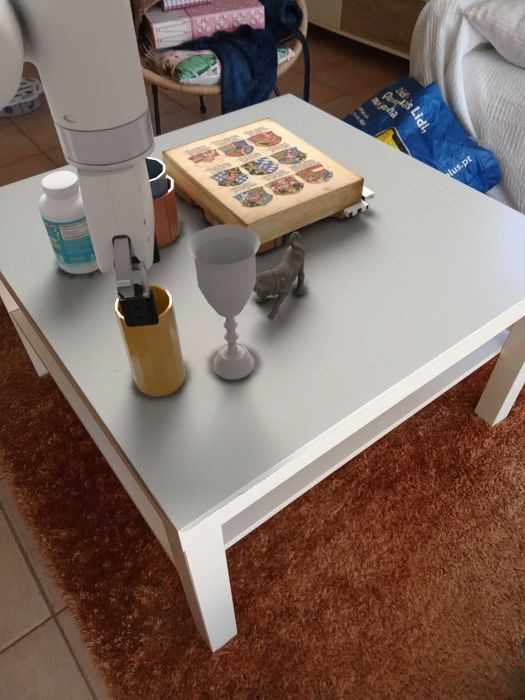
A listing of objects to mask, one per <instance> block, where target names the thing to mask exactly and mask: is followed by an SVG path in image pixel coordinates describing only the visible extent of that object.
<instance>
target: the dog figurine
mask: <svg viewBox="0 0 525 700" xmlns="http://www.w3.org/2000/svg"><path fill="white" fill-rule="evenodd" d="M302 241H303V238H302V235H301V233H300V232H299V231H293V232H292V233H291V234H290V236H289V245H290V246H288V247H287V248H286V249H285V251H284V253H283V257H282V259H281V261H280V262H279V264H278V265H277V266H276V267H274V268H272V269H269V270H266V271H262V272H258V273H257V272H256V283H255V286H254V288H253V292H254V293H255V294H256V296H257V297H256V298H255V301H256V302H257V303H262V302H263V301H264V300H266V298H267V297H269V296H273V297H276V296H277V297H276V300H275V303H274V304H273V306H272V307H271V310H270V312H269V313H268V314H267V316H266V317H267V319H268V320H269V321H271V322H273V321H275V320H276V315H277V314H278V313H279V309H280V307H281V305H282V303H284V300H285V299H286V298H287V296H288V295H289V294H290V292H291V290H292V288H293V283H294V282H295V281H296V279H297V282H296V287H295V294H296V295H300V296H301V295H302V294H303V293H304V289H303V288H304V284H305V276H306V275H305V271H304V270H305V256H306V252H305V249H304V246H303V243H302Z"/></svg>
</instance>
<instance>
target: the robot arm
mask: <svg viewBox="0 0 525 700" xmlns="http://www.w3.org/2000/svg"><path fill="white" fill-rule="evenodd" d="M139 51H140V50H139V46H138V40H137V35H136V30H135V25H134V19H133V13H132V7H131V2H130V0H0V111H2V110H3V109H4V108H6V107H7V106H8V105H9V104H10V103H11V102H12V100H13V99H14V98H15V96H16V95H17V93H18V90H19V88H20V85H21V82H22V79H23V78H22V77H23V71H24V63H25V62H27V63H28V62H29V63H31V64H33V65H34V66H35V67H36V69H37V72H38V75H39V78H40V81H41V86H42V88H43V91H44V94H45V98H46V101H47V104H48V107H49V111H50V114H51V117H52V121H53V124H54V128H55V130H56V134H57V136H58V140H59V143H60V147H61V149H62V152H63V153H62V154H63V155H64V159H65V161H66V162H67V163H68V164H69V165H70V166H71V167H73V168H75V169H76V173H77V178H78V181H79V186H80V192H81V197H82V202H83V207H84V211H85V216H86V220H87V224H88V228H89V232H90V236H91V240H92V244H93V248H94V252H95V256H96V260H97V263H98V267H99V269H98V270H99V271H100V272H101V273H102V274H105V275H106V274H109V273H110V274H111V273H113V270H114V277H115V285H116V291H117V299H119V302H120V306H121V309H122V313H123V316H124V319H125V323H126V325H127V326H128V327H137V326H147V325H156V324H158V323H159V315H158V311H157V306H156V302H155V298H154V293H153V290H149V285H150V284H149V276H148V270H149V269H150V268H151V266H152V265H153V264H155V265H156V264H160V263H161V253H160V248H159V247H158V243H157V238H156V233H155V229H154V207H153V199H152V193H151V187H150V181H149V176H148V171H147V166H146V162H145V159H146V158H147V157H150V156H151V155H152V153H153V152H154V151H155V148H156V139H155V134H154V129H153V124H152V119H151V113H150V112H151V111H150V107H149V102H148V96H147V92H146V86H145V81H144V80H145V79H144V74H143V68H142V63H141V57H140V52H139ZM135 271H139V279H140V283H138V282H137V283H136V282H135V279H134V275H133V272H135Z"/></svg>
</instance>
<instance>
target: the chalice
mask: <svg viewBox="0 0 525 700" xmlns="http://www.w3.org/2000/svg"><path fill="white" fill-rule="evenodd" d="M259 246H260V239H259V236H258V235H257V234H256V233H255V232H254V231H252V230H251V229H249V228H247V227H243V226H240V225H232V224H224V225H215V226H214V225H212V226H207V227H205V228H203V229H201V230H198V231H197V232H196V233H194V234H193V235H192V236H191V237H190V239H189V241H188V243H187V251H188V252H189V254H190V255H191V257H192V258H193V259H194V264H195V273H196V281H197V287H198V289H199V290H200V292H201V293H202V295H203V297H204V299H205V300H206V303H208V304H209V305H210V307H211V308H212V309H213V310H214V311H215V312H216V313H217V315H219V316H220V317H223V318H225V321H224V322H223V328H224V329H225V330H226V332H225V333H224V334H223V339H224V340H225V341H226V342H227V343H226V344H224V345H223V346H222V347H221V348H219V350H218V352H217V354H216V356H215V358H214V360H213V363H212V367H213V371H214V372H215V374H216V375H218V376H219V377H221V378H222V379H226V380H230V381H231V380H240V379H242V378H246V377H247V376H248V375H250V374H251V373H252V371H253V370H254V367H255V360H254V358H253V356H252V355H251V353H250V352H249V350H248V349H247V347H245V346H244V345H243V344H240V343H238V342H237V341H238V339H239V338H240V334H239V333H238V331H236V329H237V328H238V325H239V323H238V322H237V320H236V319H235V317H237V316H239V315H240V314H241V313H242V311H243V310H244V308H245V307H246V305H247V303H248V302H249V301H250V298H251V296H252V293H253V292H254V290H253V288H254V286H255V283H256V273H257V267H256V266H257V265H256V264H257V263H256V262H257V261H256V255H257V254H256V252H257V250H258V248H259Z"/></svg>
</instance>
